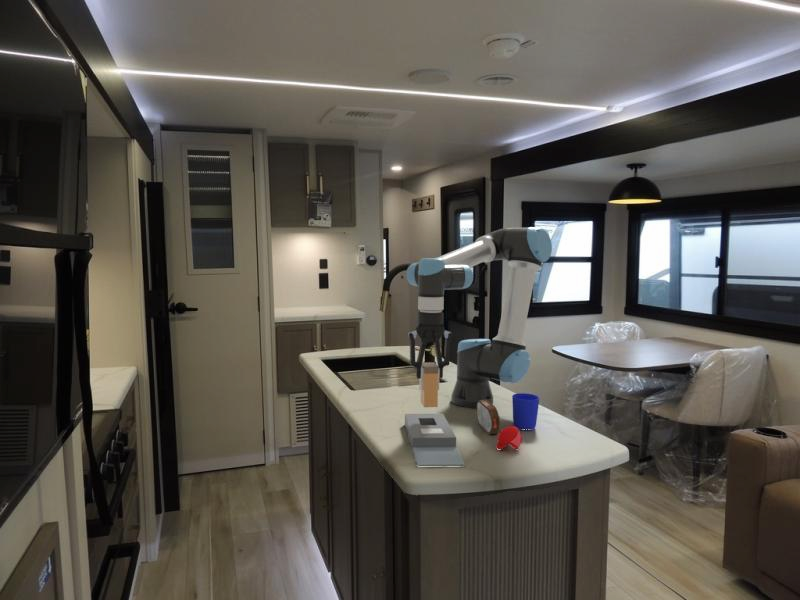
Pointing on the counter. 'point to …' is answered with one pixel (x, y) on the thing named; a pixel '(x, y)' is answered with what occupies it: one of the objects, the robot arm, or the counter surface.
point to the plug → (430, 385)
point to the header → (429, 430)
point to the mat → (437, 456)
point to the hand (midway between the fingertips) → (429, 388)
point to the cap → (509, 437)
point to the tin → (488, 417)
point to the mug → (525, 410)
